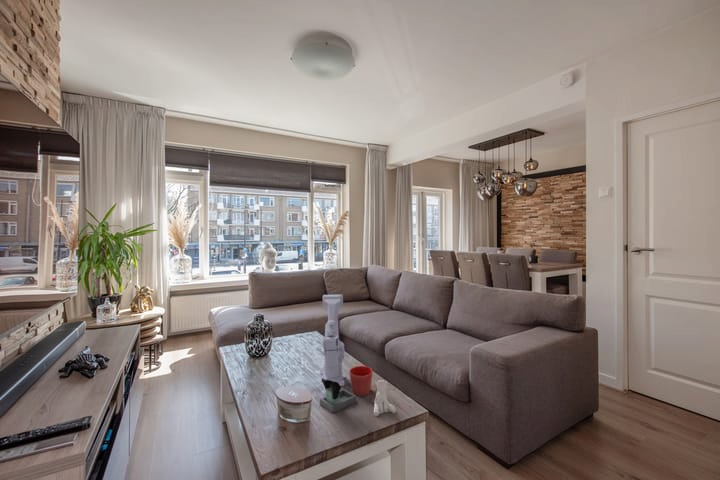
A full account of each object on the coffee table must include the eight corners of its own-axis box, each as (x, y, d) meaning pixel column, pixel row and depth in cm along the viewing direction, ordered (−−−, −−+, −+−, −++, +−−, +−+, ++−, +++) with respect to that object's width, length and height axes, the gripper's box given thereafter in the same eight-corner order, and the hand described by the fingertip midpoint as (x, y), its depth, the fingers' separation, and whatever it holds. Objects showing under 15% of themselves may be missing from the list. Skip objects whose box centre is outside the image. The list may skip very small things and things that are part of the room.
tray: (319, 404, 135) (319, 398, 135) (343, 394, 143) (343, 388, 143) (332, 413, 128) (332, 407, 128) (356, 401, 137) (356, 395, 137)
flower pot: (353, 399, 139) (352, 377, 139) (347, 387, 149) (347, 367, 149) (376, 395, 142) (375, 373, 141) (368, 384, 152) (368, 364, 152)
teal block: (333, 397, 137) (333, 385, 136) (339, 400, 134) (338, 389, 133) (326, 400, 134) (325, 389, 134) (331, 404, 131) (331, 392, 131)
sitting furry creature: (374, 417, 125) (373, 387, 124) (367, 406, 133) (367, 378, 133) (396, 413, 127) (395, 383, 127) (388, 402, 135) (387, 374, 135)
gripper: (314, 362, 136) (315, 393, 136) (334, 373, 125) (335, 406, 126) (327, 358, 141) (328, 388, 141) (348, 367, 130) (348, 400, 130)
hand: (332, 396), depth 134 cm, fingers closed on teal block, 4 cm apart
